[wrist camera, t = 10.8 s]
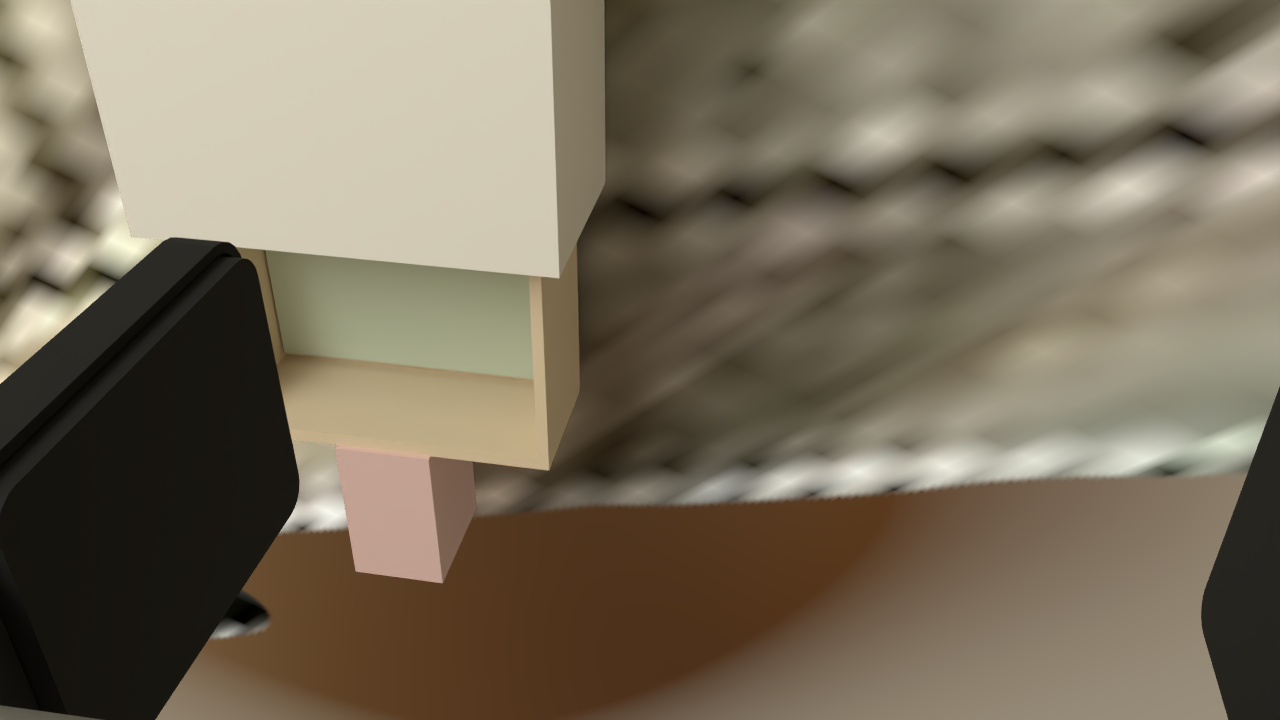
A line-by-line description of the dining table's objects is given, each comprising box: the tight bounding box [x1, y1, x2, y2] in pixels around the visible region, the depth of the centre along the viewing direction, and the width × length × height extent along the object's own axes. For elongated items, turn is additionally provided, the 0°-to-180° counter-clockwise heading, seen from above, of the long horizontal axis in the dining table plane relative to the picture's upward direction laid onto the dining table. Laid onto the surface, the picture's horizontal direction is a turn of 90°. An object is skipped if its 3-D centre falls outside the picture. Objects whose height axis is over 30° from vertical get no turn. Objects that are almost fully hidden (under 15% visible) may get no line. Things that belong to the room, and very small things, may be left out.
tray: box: [236, 243, 580, 583], centre depth 41 cm, size 23×12×5 cm, turn 179°
